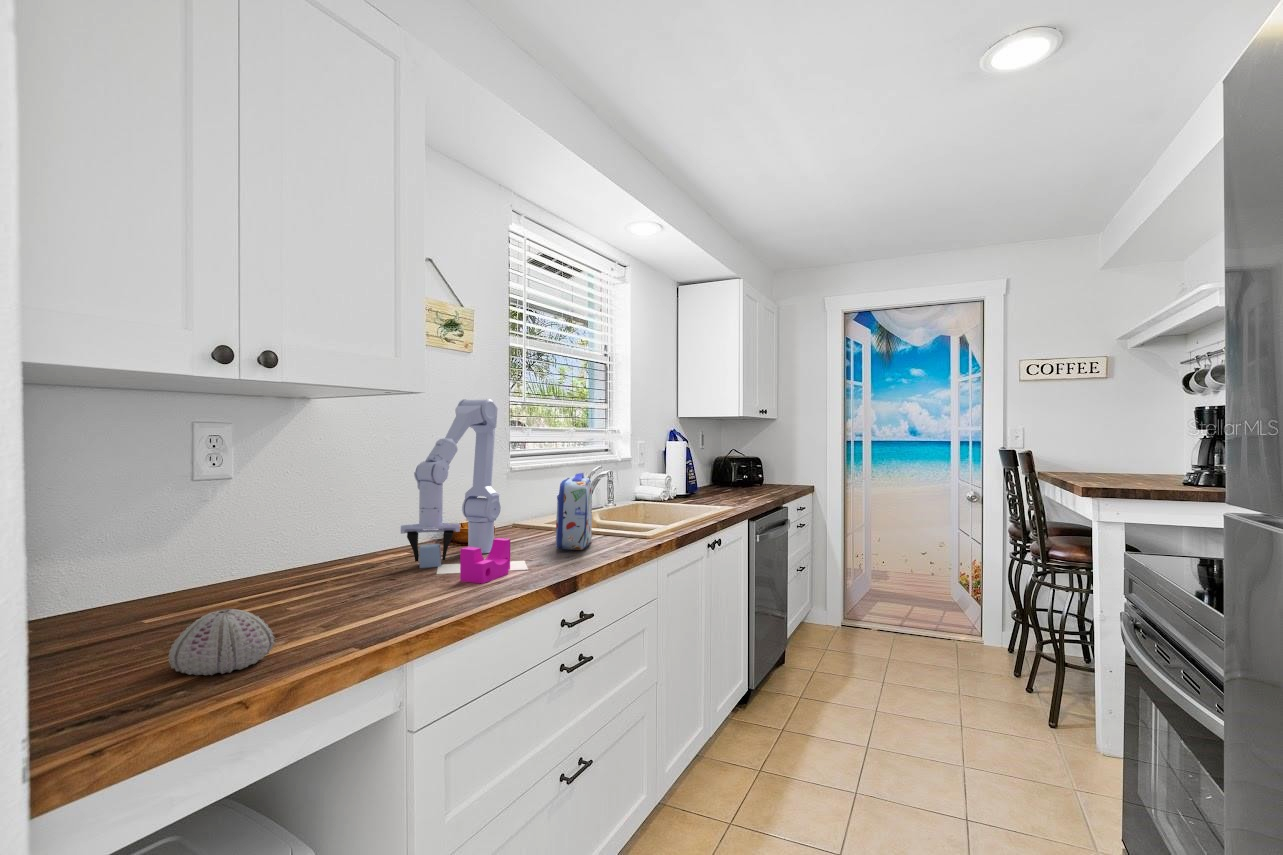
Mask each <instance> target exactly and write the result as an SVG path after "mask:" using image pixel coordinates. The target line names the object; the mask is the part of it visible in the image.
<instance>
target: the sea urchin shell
mask: <svg viewBox="0 0 1283 855" xmlns="http://www.w3.org/2000/svg"><path fill="white" fill-rule="evenodd" d="M273 634H274V632H273V629H271V627H269V624H267V623H265V620H264V619H262V618H260V616H259V615H255V614H254V613H253V612H249V611H246V610H242V609H238V608H237V609H235V608H228V609H224V608H223V609H221V610H220V609H219V610H215V611H212V612H208V613H207V614H205V615H202V616H200V618H197V619H196V620H195V621H193V623H192V624H190V625H189V626H186V628H185V629H184V630H183V631H182V632H180V634H179V636H178V637H177V638H176V639H174V643H172V644H171V646H170V649H169V651H168V652H169V653H168V655H167V657H168V658H169V660H168V664H170V668H171V669H173V670H175V672H180V673H181V674H187V675H188V676H189V675H190V676H191V675H194V676H201V675H203V676H209V675H210V676H213V675H216V674H221V675H224V674H225V673H230V674H231V673H232V672H234V671H235V670H238V671H240V670H242V669H245V668H248V667H249V666H251V665H255V664H257V663H258V662H259V661H261V660H263V659H264V658H265V656H266V655H269V654H270V651H271V650H273V646H274V645H275V644H276V642H275V641H274V640H275V638H276V637H275V636H274V635H273Z"/></svg>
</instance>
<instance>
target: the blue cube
mask: <svg viewBox="0 0 1283 855" xmlns="http://www.w3.org/2000/svg"><path fill="white" fill-rule="evenodd" d="M441 549H442V548H441V543H430V544H421V545H419V546H418V554H419V560H418V563H419V569H426V568H428V569H429V568H438V567H439V566H440V565H441V564H442V552H441V551H442V550H441Z"/></svg>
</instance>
